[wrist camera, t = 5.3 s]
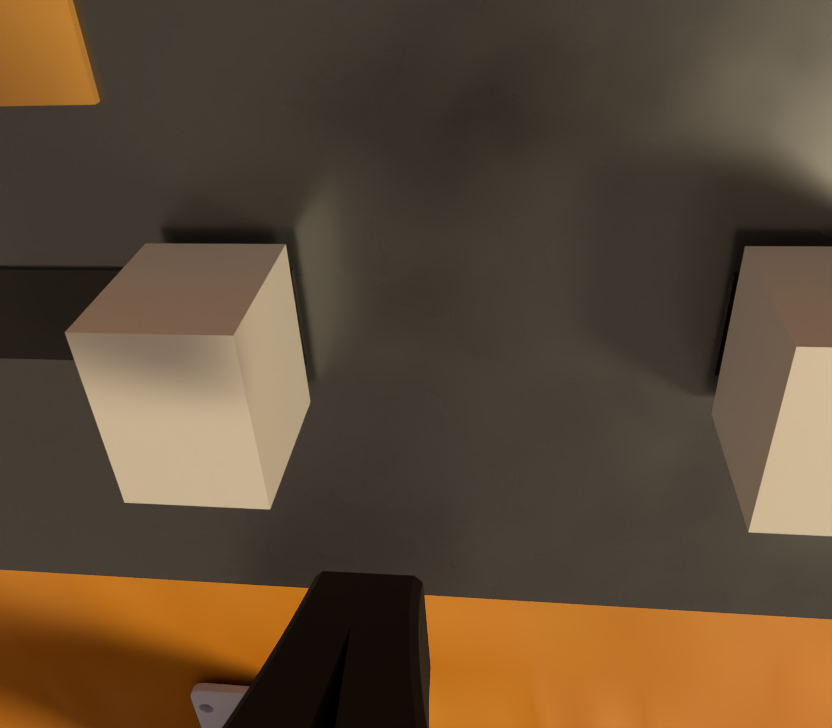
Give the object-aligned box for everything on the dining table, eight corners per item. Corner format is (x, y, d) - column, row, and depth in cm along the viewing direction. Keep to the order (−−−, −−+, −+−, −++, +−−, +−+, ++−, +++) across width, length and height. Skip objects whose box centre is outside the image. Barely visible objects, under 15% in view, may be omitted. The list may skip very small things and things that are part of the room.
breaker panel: (1000, 584, 22) (1033, 637, 20) (-320, 514, 27) (-366, 552, 25) (1450, -249, 11) (1579, -258, 10) (-811, -106, 17) (-934, -100, 15)
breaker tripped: (310, 401, 18) (270, 509, 15) (186, 397, 19) (124, 502, 16) (285, 244, 16) (233, 335, 13) (145, 243, 16) (64, 332, 14)
